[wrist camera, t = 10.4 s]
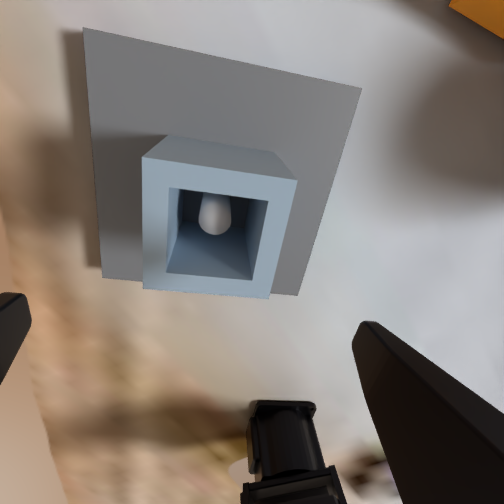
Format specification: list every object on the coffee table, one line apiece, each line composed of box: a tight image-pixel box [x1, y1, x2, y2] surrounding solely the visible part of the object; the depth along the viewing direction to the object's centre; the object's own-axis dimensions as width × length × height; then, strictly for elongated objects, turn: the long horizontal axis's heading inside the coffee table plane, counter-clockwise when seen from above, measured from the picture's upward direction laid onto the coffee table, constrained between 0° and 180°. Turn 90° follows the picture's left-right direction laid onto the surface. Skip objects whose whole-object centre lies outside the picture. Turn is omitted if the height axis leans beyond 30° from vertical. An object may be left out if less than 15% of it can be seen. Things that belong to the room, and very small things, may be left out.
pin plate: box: [83, 27, 362, 296], centre depth 17 cm, size 14×14×6 cm
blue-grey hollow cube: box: [142, 135, 298, 299], centre depth 15 cm, size 6×6×6 cm
